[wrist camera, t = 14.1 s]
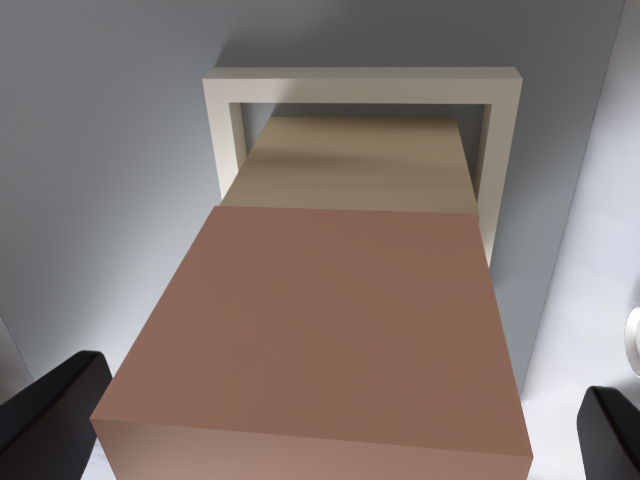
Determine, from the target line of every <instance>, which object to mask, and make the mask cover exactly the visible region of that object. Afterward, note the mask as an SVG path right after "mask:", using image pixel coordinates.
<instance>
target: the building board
mask: <svg viewBox="0 0 640 480" xmlns="http://www.w3.org/2000/svg"><path fill="white" fill-rule="evenodd" d="M624 2H625V0H0V315H1V317H2V319H3V321H4V323H5V325H6V327H7V329H8V331H9V333H10V335H11V337H12V339H13V341H14V343H15V345H16V347H17V349H18V351H19V353H20V355H21V357H22V359H23V361H24V363H25V365H26V367H27V369H28V371H29V373H30V375H31V377H32V379H33V380H34V382H35V381H36V380H38V379H39V378H41V377H42V376H43V375H45V374H46V373H48V372H49V371H51V370H52V369H54V368H55V367H57V366H58V365H59V364H61V363H62V362H64V361H65V360H67V359H68V358H70V357H71V356H73V355H74V354H75V353H77V352H79V351H82V350H91V351H100V352H102V353H103V354H104V356H105V358H106V361H107V363H108V366H109V369H110V371H111V374H112V376H113V377H114V376H115V374H116V372H117V371H118V369H119V367H120V366H121V364H122V362H123V360H124V359H125V357H126V355H127V354H128V352H129V350H130V349H131V347H132V345H133V343H134V342H135V340H136V338H137V337H138V335H139V333H140V332H141V330H142V328H143V326H144V325H145V323H146V321H147V320H148V318H149V316H150V315H151V313H152V311H153V309H154V308H155V306H156V304H157V303H158V301H159V299H160V298H161V296H162V294H163V292H164V291H165V289H166V287H167V286H168V284H169V282H170V281H171V279H172V277H173V275H174V274H175V272H176V270H177V269H178V267H179V265H180V264H181V262H182V260H183V258H184V257H185V255H186V253H187V252H188V250H189V248H190V247H191V245H192V243H193V241H194V240H195V238H196V236H197V235H198V233H199V231H200V230H201V228H202V226H203V224H204V223H205V221H206V219H207V218H208V216H209V214H210V213H211V211H212V209H213V207H214V206H219V205H220V203H221V202H222V200H223V198H224V196H225V195H226V193H227V191H228V190H229V188H230V186H231V184H232V183H233V181H234V179H235V177H236V176H237V174H238V172H239V170H240V169H241V167H242V165H243V163H244V162H245V160H246V158H247V156H248V155H249V153H250V151H251V149H252V148H253V146H254V144H255V142H256V141H257V139H258V137H259V135H260V134H261V132H262V130H263V128H264V127H265V125H266V123H267V121H268V120H269V118H270V116H281V117H376V118H456V122H457V126H458V130H459V134H460V138H461V142H462V146H463V150H464V154H465V158H466V162H467V166H468V170H469V174H470V178H471V182H472V186H473V190H474V195H475V199H476V203H477V207H478V211H479V215H480V218H479V224H478V225H479V229H480V233H481V237H482V242H483V246H484V250H485V254H486V259H487V263H488V267H489V271H490V275H491V280H492V284H493V288H494V292H495V297H496V301H497V305H498V309H499V314H500V318H501V322H502V326H503V330H504V335H505V339H506V343H507V347H508V352H509V356H510V360H511V364H512V369H513V373H514V377H515V381H516V385H517V390H518V394H519V398H520V394H521V390H522V387H523V383H524V379H525V375H526V372H527V368H528V364H529V360H530V356H531V353H532V349H533V345H534V341H535V338H536V334H537V330H538V326H539V323H540V319H541V315H542V311H543V307H544V304H545V300H546V296H547V292H548V289H549V285H550V281H551V277H552V274H553V270H554V266H555V262H556V259H557V255H558V251H559V247H560V243H561V240H562V236H563V232H564V228H565V225H566V221H567V217H568V213H569V210H570V206H571V202H572V198H573V194H574V191H575V187H576V183H577V179H578V176H579V172H580V168H581V164H582V161H583V157H584V153H585V149H586V146H587V142H588V138H589V134H590V130H591V127H592V123H593V119H594V115H595V112H596V108H597V104H598V100H599V97H600V93H601V89H602V85H603V81H604V78H605V74H606V70H607V66H608V63H609V59H610V55H611V51H612V48H613V44H614V40H615V36H616V33H617V29H618V25H619V21H620V17H621V14H622V10H623V6H624Z"/></svg>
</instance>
